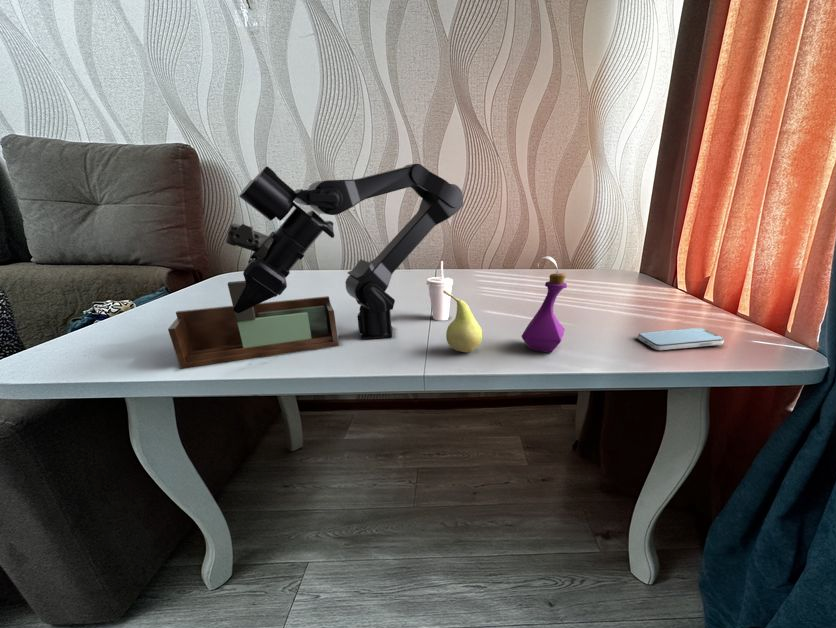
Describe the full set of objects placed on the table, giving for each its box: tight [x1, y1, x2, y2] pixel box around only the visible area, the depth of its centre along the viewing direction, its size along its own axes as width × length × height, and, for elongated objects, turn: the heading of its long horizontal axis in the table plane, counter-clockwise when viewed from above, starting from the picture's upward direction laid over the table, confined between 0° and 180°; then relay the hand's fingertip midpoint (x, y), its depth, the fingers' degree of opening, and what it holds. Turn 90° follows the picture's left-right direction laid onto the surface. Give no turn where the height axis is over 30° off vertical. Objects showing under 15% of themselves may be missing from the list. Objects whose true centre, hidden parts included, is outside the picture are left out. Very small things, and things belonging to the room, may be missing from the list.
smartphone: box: [637, 327, 725, 351], centre depth 78 cm, size 8×2×15 cm
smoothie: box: [425, 260, 454, 321], centre depth 91 cm, size 6×6×14 cm
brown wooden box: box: [167, 295, 340, 370], centre depth 73 cm, size 27×8×8 cm, turn 115°
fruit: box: [443, 290, 483, 353], centre depth 72 cm, size 7×8×12 cm
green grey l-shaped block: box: [227, 280, 312, 348], centre depth 71 cm, size 12×2×13 cm, turn 115°
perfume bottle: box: [521, 255, 568, 354], centre depth 72 cm, size 8×8×18 cm
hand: (237, 305), depth 68 cm, fingers open, 9 cm apart
